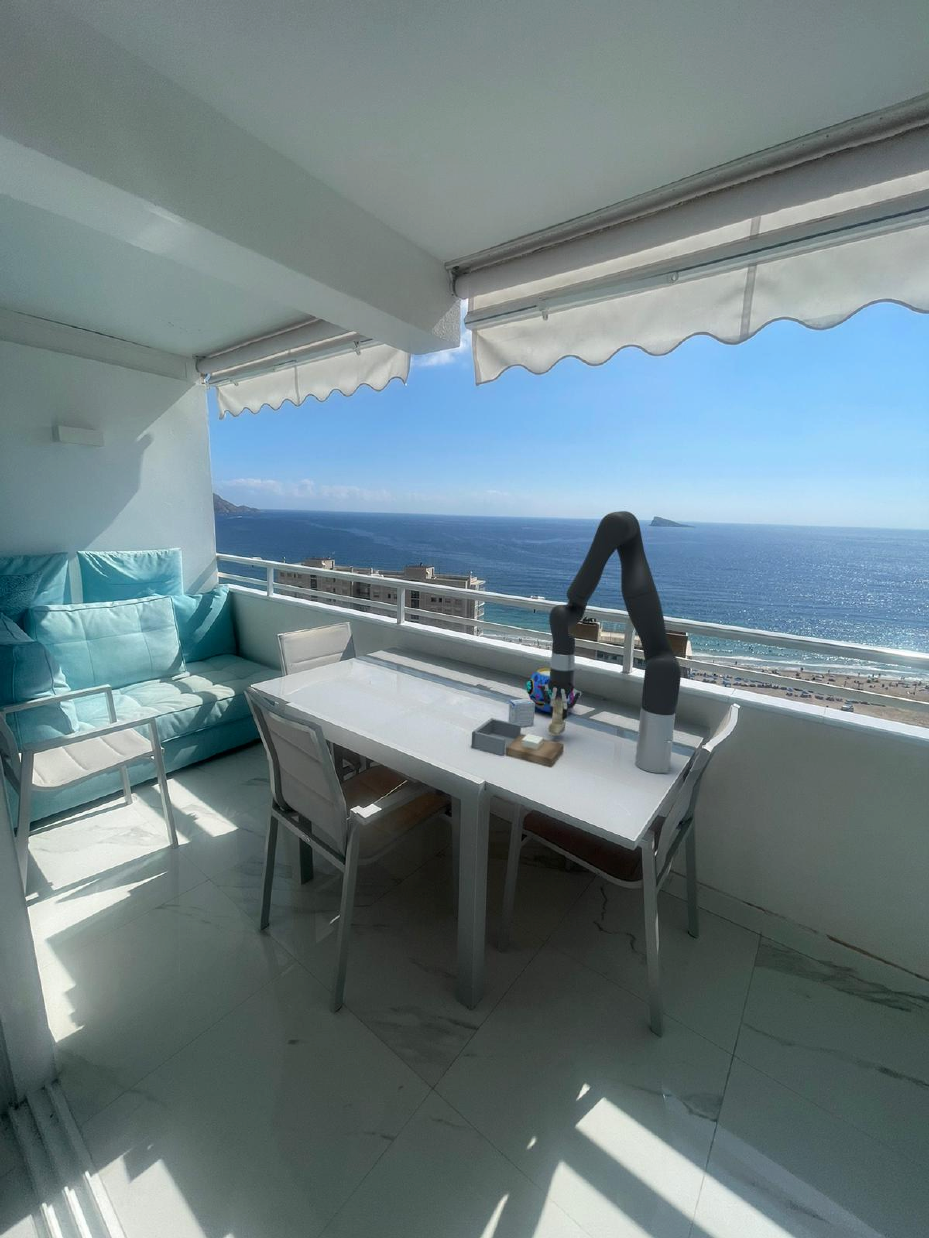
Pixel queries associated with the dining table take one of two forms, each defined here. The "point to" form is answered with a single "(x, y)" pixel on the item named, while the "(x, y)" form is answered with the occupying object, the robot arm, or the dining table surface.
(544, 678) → the ceramic pot
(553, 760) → the walnut plate
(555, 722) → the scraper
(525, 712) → the medicine box
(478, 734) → the box
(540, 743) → the cream tile
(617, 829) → the dining table surface
